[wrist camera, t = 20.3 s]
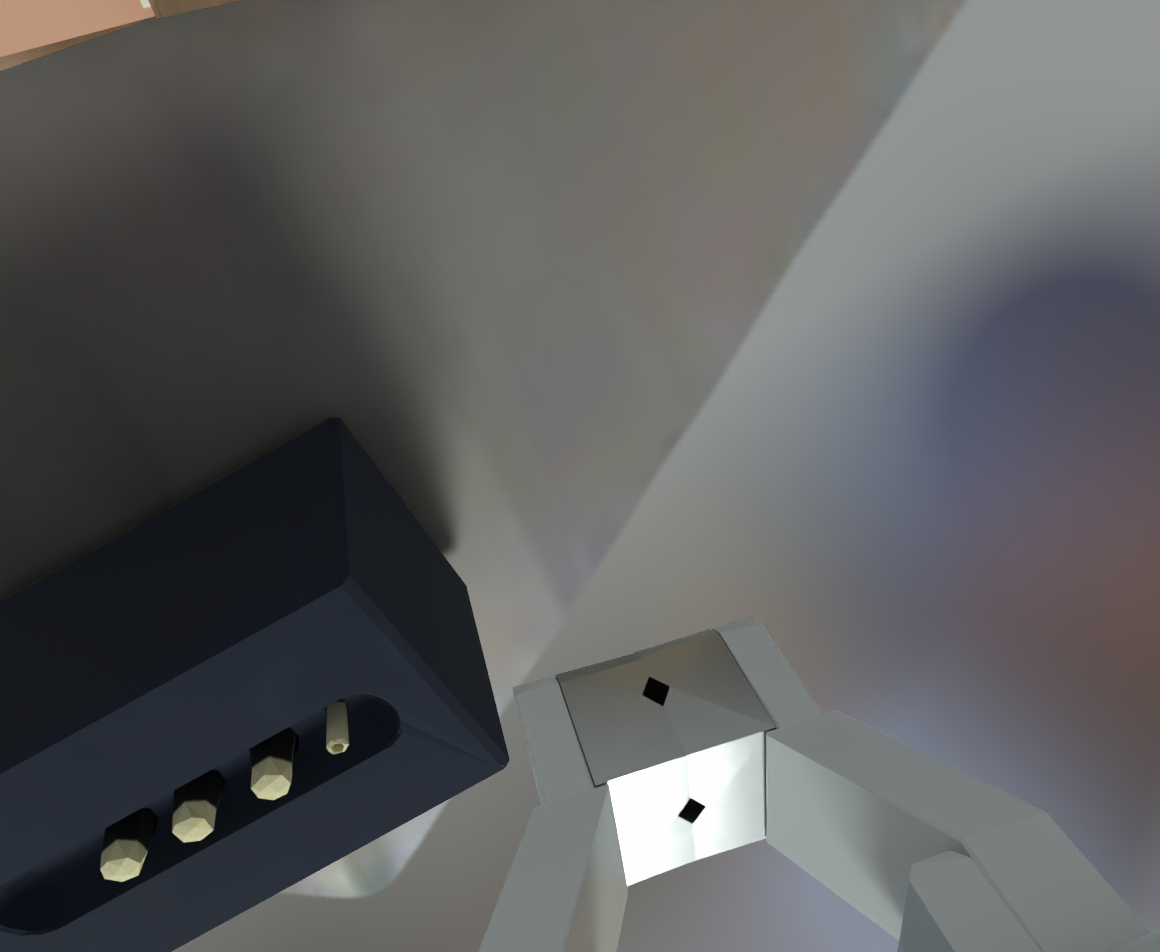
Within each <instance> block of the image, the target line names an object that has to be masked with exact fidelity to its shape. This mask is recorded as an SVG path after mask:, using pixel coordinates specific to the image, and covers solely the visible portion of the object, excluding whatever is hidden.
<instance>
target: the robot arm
mask: <svg viewBox="0 0 1160 952" xmlns="http://www.w3.org/2000/svg"><path fill="white" fill-rule="evenodd" d="M513 689H514V696H515V701H516V705H517V709H518V713H519V717H520V721H521V724H522V729H523V733H524V737H525V741H526V745H527V749H528V753H529V757H530V761H531V765H532V769H533V773H534V777H535V781H536V785H537V789H538V793H539V797H540V800H541V804H542V805H540V806H537V807H535V808H532V809H531V811H530V814H529V817H528V819H527V822H526V825H525V827H524V830H523V833H522V835H521V838H520V841H519V844H518V846H517V849H516V852H515V854H514V857H513V860H512V863H511V865H510V868H509V871H508V873H507V876H506V879H505V882H504V884H503V887H502V890H501V892H500V895H499V898H498V900H497V903H496V906H495V908H494V911H493V914H492V917H491V919H490V922H489V925H488V927H487V930H486V933H485V936H484V938H483V941H482V944H481V946H480V949H479V952H616V950H617V945H618V940H619V935H620V930H621V925H622V920H623V915H624V910H625V905H626V899H627V894H628V888H627V886H628V885H631V884H634V883H636V882H639V881H642V880H644V879H647V878H649V877H652V876H655V875H658V874H660V873H663V872H665V871H668V870H671V869H673V868H676V867H679V866H682V865H684V864H687V863H689V862H692V861H695V860H698V859H701V858H704V857H708V856H711V855H714V854H717V853H720V852H723V851H727V850H730V849H733V848H736V847H739V846H743V845H746V844H749V843H752V842H755V841H759V840H762V839H765V838H767V842H768V843H769V844H770V845H772V846H773V847H774V848H776V849H777V850H778V851H780V852H781V853H782V854H784V855H785V856H786V857H788V858H789V859H790V860H792V861H793V862H794V863H796V864H797V865H798V866H800V867H801V868H802V869H804V870H805V871H806V872H808V873H809V874H810V875H812V876H813V877H814V878H816V879H817V880H818V881H820V882H821V883H822V884H824V885H825V886H826V887H828V888H829V889H830V890H832V891H833V892H834V893H836V894H837V895H838V896H840V897H841V898H842V899H844V900H845V901H846V902H848V903H849V904H850V905H852V906H853V907H854V908H856V909H857V910H859V911H860V912H861V913H863V914H864V915H865V916H867V917H868V918H869V919H871V920H872V921H873V922H875V923H876V924H877V925H879V926H880V927H881V928H883V929H884V930H885V931H887V932H888V933H889V934H891V935H892V936H893V937H895V938H896V939H897V940H899V946H898V951H897V952H1160V929H1157V930H1154V931H1152V932H1149V930H1148V929H1147V928H1146V927H1145V925H1143V923H1142V922H1141V921H1140V920H1139V919H1138V918H1137V916H1136V915H1135V914H1134V913H1133V912H1132V911H1131V909H1130V908H1129V907H1128V906H1127V905H1126V904H1125V902H1124V901H1123V900H1122V899H1121V898H1120V897H1119V896H1118V894H1117V893H1116V892H1115V891H1114V890H1113V889H1112V888H1111V886H1110V885H1109V884H1108V883H1107V882H1106V881H1105V880H1104V878H1103V877H1102V876H1101V875H1100V874H1099V873H1098V871H1097V870H1096V869H1095V868H1094V867H1093V866H1092V865H1091V863H1090V862H1089V861H1088V860H1087V859H1086V858H1085V857H1084V856H1083V854H1082V853H1081V852H1080V851H1079V850H1078V849H1077V848H1076V846H1075V845H1074V844H1073V843H1072V842H1071V841H1070V839H1069V838H1068V837H1067V836H1066V835H1065V834H1064V832H1063V831H1062V830H1061V829H1060V828H1059V827H1058V826H1057V824H1056V823H1055V822H1054V821H1053V820H1052V819H1051V818H1050V817H1049V815H1048V814H1047V813H1046V812H1044V811H1042V810H1040V809H1038V808H1036V807H1033V806H1031V805H1029V804H1027V803H1025V802H1023V801H1021V800H1019V799H1017V798H1015V797H1013V796H1010V795H1009V794H1007V793H1005V792H1003V791H1001V790H998V789H996V788H994V787H992V786H990V785H988V784H986V783H984V782H982V781H980V780H978V779H976V778H974V777H972V776H970V775H968V774H966V773H963V772H961V771H959V770H957V769H955V768H953V767H951V766H949V765H947V764H945V763H943V762H941V761H939V760H937V759H935V758H932V757H930V756H928V755H926V754H924V753H922V752H920V751H918V750H916V749H914V748H912V747H910V746H908V745H906V744H904V743H902V742H900V741H898V740H895V739H893V738H891V737H889V736H887V735H885V734H883V733H881V732H879V731H877V730H875V729H873V728H870V727H869V726H866V725H865V724H862V723H860V722H858V721H856V720H854V719H852V718H850V717H848V716H846V715H844V714H842V713H840V712H838V711H832V712H829V713H825V714H823V712H822V711H821V709H820V708H819V707H818V705H817V704H816V702H815V701H814V699H813V698H812V697H811V695H810V694H809V693H808V691H807V689H806V688H805V686H804V685H803V684H802V682H801V681H800V679H799V678H798V676H797V675H796V673H795V672H794V671H793V669H792V668H791V666H790V665H789V663H788V662H787V661H786V659H785V658H784V656H783V655H782V653H781V652H780V651H779V649H778V648H777V646H776V645H775V643H774V642H773V640H772V639H771V638H770V636H769V635H768V633H767V632H766V630H765V629H764V627H763V626H762V625H761V623H760V622H759V621H758V620H756V619H755V618H753V617H749V618H745V619H742V620H739V621H735V622H732V623H729V624H726V625H722V626H719V627H716V628H713V630H710V629H709V630H706V631H702V632H699V633H696V634H693V635H689V636H686V637H683V638H680V639H677V640H673V641H670V642H667V643H664V644H660V645H657V646H654V647H651V648H648V649H644V650H641V651H638V652H635V653H634V654H631V655H627V656H623V657H620V658H616V659H612V660H609V661H605V662H601V663H598V664H594V665H590V666H586V667H583V668H579V669H575V670H572V671H568V672H565V673H561V674H557V675H556V678H555V677H554V676H553V677H549V678H546V679H542V680H538V681H534V682H531V683H527V684H523V685H520V686H516V687H513Z"/></svg>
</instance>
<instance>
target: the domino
mask: <svg viewBox="0 0 1160 952" xmlns="http://www.w3.org/2000/svg"><path fill="white" fill-rule="evenodd" d="M154 16H155V15H154V12H153V10H152V8H151V5H150V3H149V0H0V57H3V56H7V55H10V54H14V53H18V52H22V51H26V50H29V49H33V48H37V47H41V46H44V45H48V44H52V43H56V42H60V41H63V40H67V39H71V38H75V37H78V36H82V35H86V34H90V33H94V32H97V31H101V30H105V29H109V28H112V27H116V26H120V25H124V24H128V23H131V22H135V21H139V20H143V19H147V18H150V17H154Z"/></svg>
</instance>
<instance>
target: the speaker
mask: <svg viewBox="0 0 1160 952" xmlns="http://www.w3.org/2000/svg"><path fill="white" fill-rule="evenodd" d="M508 762H509V756H508V752H507V748H506V744H505V740H504V736H503V732H502V728H501V724H500V720H499V716H498V712H497V708H496V704H495V700H494V696H493V692H492V688H491V684H490V680H489V676H488V671H487V667H486V663H485V659H484V655H483V651H482V647H481V643H480V639H479V635H478V631H477V627H476V623H475V619H474V615H473V611H472V607H471V603H470V599H469V595H468V591H467V587H466V585H465V584H464V582H463V581H462V580H461V578H460V577H459V576H458V574H457V573H456V572H455V570H454V569H453V568H452V566H451V565H450V564H449V562H448V561H447V560H446V558H445V557H444V556H443V554H442V553H441V552H440V550H439V549H438V548H437V546H436V545H435V544H434V542H433V541H432V540H431V538H430V537H429V536H428V535H427V533H426V532H425V531H424V529H423V528H422V527H421V525H420V524H419V523H418V521H417V520H416V519H415V517H414V516H413V515H412V513H411V512H410V511H409V509H408V508H407V507H406V505H405V504H404V503H403V501H402V500H401V499H400V497H399V496H398V495H397V493H396V492H395V491H394V489H393V488H392V487H391V485H390V484H389V483H388V481H387V480H386V479H385V477H384V476H383V475H382V473H381V472H380V471H379V470H378V468H377V467H376V466H375V464H374V463H373V462H372V460H371V459H370V458H369V456H368V455H367V454H366V452H365V451H364V450H363V448H362V447H361V446H360V444H359V443H358V442H357V440H356V439H355V438H354V436H353V435H352V434H351V432H350V431H349V430H348V428H347V427H346V426H345V424H344V423H343V422H342V420H341V419H340V418H328V419H326V420H325V421H323V422H321V423H319V424H317V425H316V426H314V427H312V428H310V429H308V430H307V431H305V432H303V433H301V434H299V435H298V436H296V437H294V438H292V439H290V440H289V441H287V442H285V443H283V444H281V445H280V446H278V447H276V448H274V449H273V450H271V451H269V452H267V453H265V454H264V455H262V456H260V457H258V458H256V459H255V460H253V461H251V462H249V463H247V464H246V465H244V466H242V467H240V468H238V469H237V470H235V471H233V472H231V473H229V474H228V475H226V476H224V477H222V478H220V479H219V480H217V481H215V482H213V483H211V484H210V485H208V486H206V487H204V488H202V489H201V490H199V491H197V492H195V493H193V494H192V495H190V496H188V497H186V498H185V499H183V500H181V501H179V502H177V503H176V504H174V505H172V506H170V507H168V508H167V509H165V510H163V511H161V512H159V513H158V514H156V515H154V516H152V517H150V518H149V519H147V520H145V521H143V522H141V523H140V524H138V525H136V526H134V527H132V528H131V529H129V530H127V531H125V532H123V533H122V534H120V535H118V536H116V537H114V538H113V539H111V540H109V541H107V542H105V543H104V544H102V545H100V546H98V547H97V548H95V549H93V550H91V551H89V552H88V553H86V554H84V555H82V556H80V557H79V558H77V559H75V560H73V561H71V562H70V563H68V564H66V565H64V566H62V567H61V568H59V569H57V570H55V571H53V572H52V573H50V574H48V575H46V576H44V577H43V578H41V579H39V580H37V581H35V582H34V583H32V584H30V585H28V586H26V587H25V588H23V589H21V590H19V591H18V592H16V593H14V594H12V595H10V596H9V597H7V598H5V599H3V600H1V601H0V952H171V951H173V950H175V949H176V948H179V947H180V946H182V945H184V944H186V943H188V942H189V941H191V940H193V939H195V938H197V937H199V936H200V935H202V934H204V933H205V932H208V931H209V930H211V929H213V928H215V927H217V926H218V925H220V924H222V923H224V922H226V921H228V920H229V919H231V918H233V917H235V916H237V915H238V914H240V913H242V912H244V911H245V910H248V909H250V908H251V907H253V906H255V905H257V904H259V903H260V902H262V901H264V900H266V899H268V898H270V897H271V896H273V895H275V894H277V893H279V892H280V891H282V890H284V889H286V888H288V887H290V886H291V885H293V884H295V883H297V882H299V881H301V880H302V879H304V878H306V877H308V876H310V875H311V874H313V873H315V872H317V871H319V870H321V869H322V868H324V867H326V866H328V865H330V864H331V863H333V862H335V861H337V860H339V859H341V858H342V857H344V856H346V855H348V854H350V853H351V852H353V851H355V850H357V849H359V848H361V847H362V846H364V845H366V844H368V843H370V842H371V841H373V840H375V839H377V838H379V837H381V836H382V835H384V834H386V833H388V832H390V831H391V830H393V829H395V828H397V827H399V826H401V825H402V824H404V823H406V822H408V821H410V820H412V819H413V818H415V817H417V816H419V815H421V814H422V813H424V812H426V811H428V810H430V809H432V808H433V807H435V806H437V805H439V804H441V803H442V802H444V801H446V800H448V799H450V798H452V797H453V796H455V795H457V794H459V793H461V792H462V791H464V790H466V789H468V788H470V787H472V786H473V785H475V784H477V783H479V782H481V781H482V780H484V779H486V778H488V777H490V776H492V775H493V774H495V773H497V772H499V771H501V770H502V769H504V768H505V767H506V766H507V763H508Z"/></svg>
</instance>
